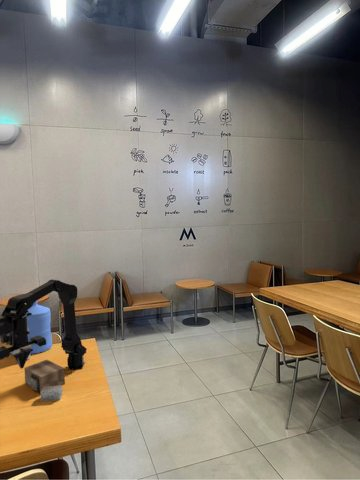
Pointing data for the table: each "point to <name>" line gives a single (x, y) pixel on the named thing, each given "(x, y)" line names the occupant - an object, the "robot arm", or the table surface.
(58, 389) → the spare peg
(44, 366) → the socket block
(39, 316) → the water jug
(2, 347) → the robot arm
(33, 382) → the peg
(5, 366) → the table surface
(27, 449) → the table surface
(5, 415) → the table surface
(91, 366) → the table surface
